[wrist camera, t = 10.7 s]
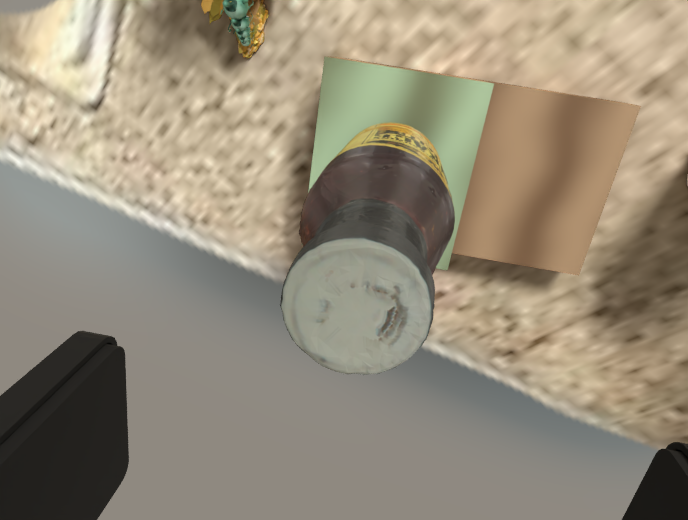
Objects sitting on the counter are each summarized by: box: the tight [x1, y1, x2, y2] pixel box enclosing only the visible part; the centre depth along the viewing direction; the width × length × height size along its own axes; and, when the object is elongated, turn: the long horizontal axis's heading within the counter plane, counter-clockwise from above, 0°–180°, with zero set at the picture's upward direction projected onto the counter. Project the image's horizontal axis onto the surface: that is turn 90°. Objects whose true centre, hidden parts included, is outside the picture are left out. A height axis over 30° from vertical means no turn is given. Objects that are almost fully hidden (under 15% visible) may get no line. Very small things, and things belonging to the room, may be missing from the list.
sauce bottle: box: [280, 122, 455, 374], centre depth 22 cm, size 7×6×20 cm
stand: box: [302, 57, 641, 275], centre depth 34 cm, size 20×12×6 cm, turn 82°
